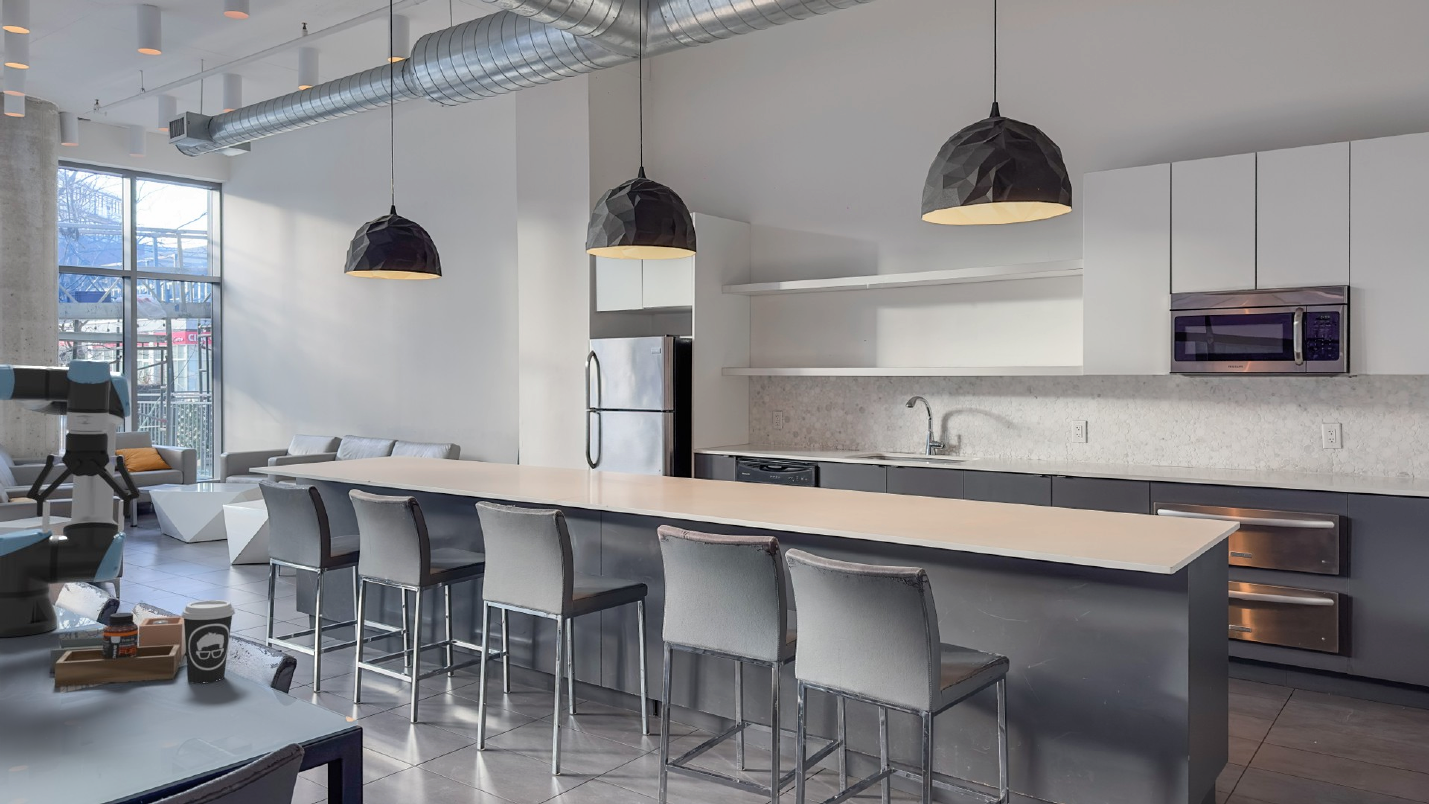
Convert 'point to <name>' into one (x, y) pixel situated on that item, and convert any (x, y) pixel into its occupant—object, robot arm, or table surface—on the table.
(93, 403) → the robot arm
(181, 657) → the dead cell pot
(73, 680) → the trough
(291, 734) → the table surface
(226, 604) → the coffee cup
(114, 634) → the supplement bottle
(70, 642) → the cradle base
